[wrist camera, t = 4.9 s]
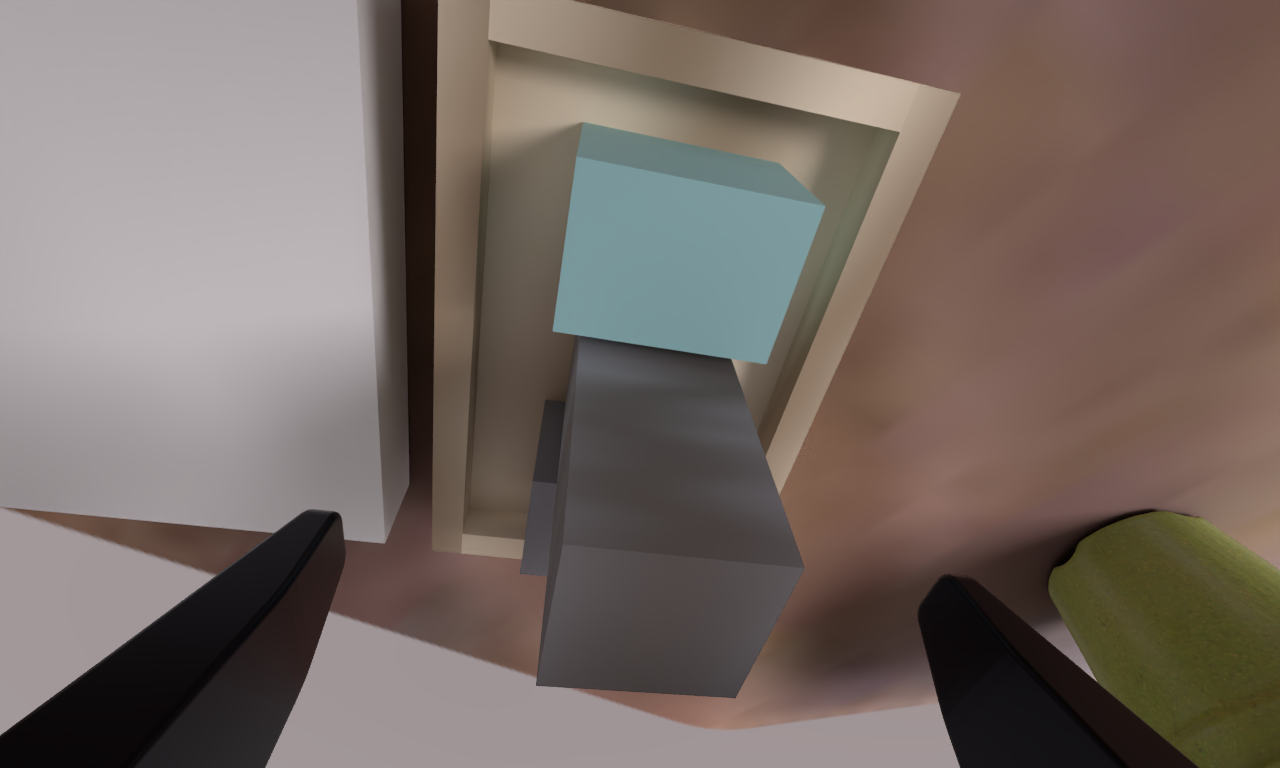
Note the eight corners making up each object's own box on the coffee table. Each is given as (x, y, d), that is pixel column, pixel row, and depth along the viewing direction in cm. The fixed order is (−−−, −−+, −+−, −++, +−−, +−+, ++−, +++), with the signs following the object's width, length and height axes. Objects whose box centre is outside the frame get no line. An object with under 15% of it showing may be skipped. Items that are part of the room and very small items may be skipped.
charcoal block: (697, 420, 15) (715, 502, 13) (671, 501, 17) (682, 588, 14) (545, 399, 15) (532, 481, 12) (533, 485, 16) (519, 573, 14)
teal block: (778, 162, 12) (825, 206, 9) (736, 296, 13) (766, 364, 11) (582, 121, 11) (576, 156, 9) (563, 266, 13) (552, 330, 10)
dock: (399, -93, 11) (350, -116, 9) (409, 484, 19) (385, 543, 17) (-309, -273, 9) (-570, -351, 7) (28, 442, 17) (-51, 501, 15)
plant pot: (1260, 577, 24) (1540, 823, 17) (1030, 657, 27) (1188, 901, 19) (1252, 432, 20) (1631, 684, 12) (976, 545, 22) (1155, 809, 15)
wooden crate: (882, 73, 13) (1356, 195, 5) (721, 497, 20) (801, 841, 12) (479, -23, 12) (178, -85, 4) (458, 466, 19) (342, 830, 11)
